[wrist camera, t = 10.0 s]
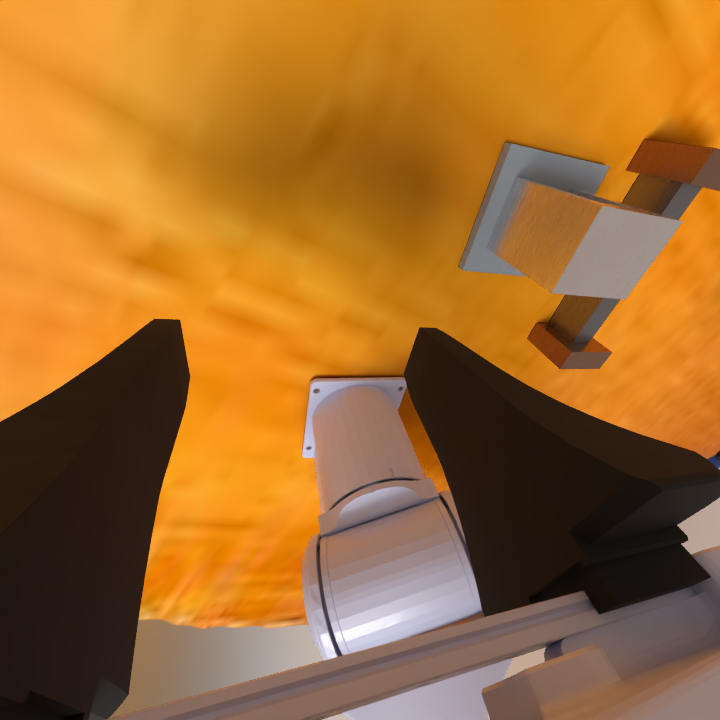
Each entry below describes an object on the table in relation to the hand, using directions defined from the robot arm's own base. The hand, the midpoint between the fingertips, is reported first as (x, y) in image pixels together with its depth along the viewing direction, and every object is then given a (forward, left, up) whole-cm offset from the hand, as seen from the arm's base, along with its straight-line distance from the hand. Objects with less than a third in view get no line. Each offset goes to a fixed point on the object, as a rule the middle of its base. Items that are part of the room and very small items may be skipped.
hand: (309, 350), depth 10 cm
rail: (+1, -22, -10) cm, 24 cm away
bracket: (+3, -15, -10) cm, 18 cm away
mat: (+3, -15, -10) cm, 18 cm away
